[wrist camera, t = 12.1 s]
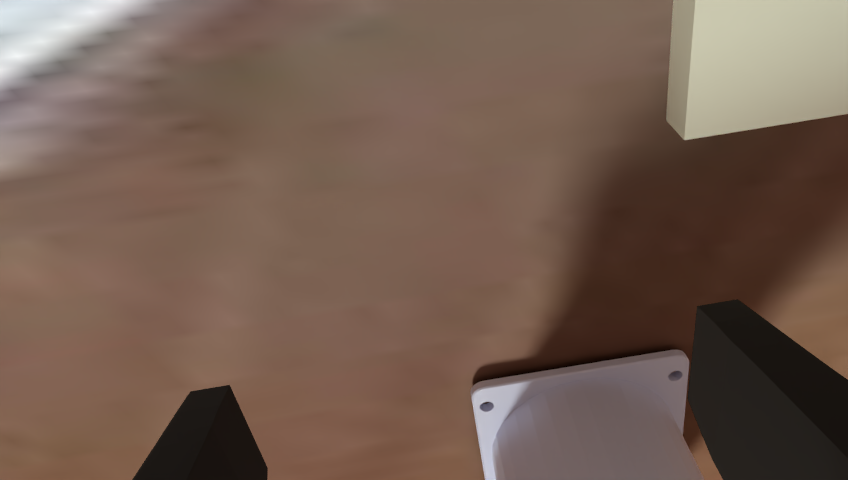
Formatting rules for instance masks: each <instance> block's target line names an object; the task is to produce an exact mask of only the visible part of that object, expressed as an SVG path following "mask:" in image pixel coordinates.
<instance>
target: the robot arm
mask: <svg viewBox="0 0 848 480" xmlns="http://www.w3.org/2000/svg"><path fill="white" fill-rule="evenodd" d="M674 371H675V372H674ZM672 372H674V373H672ZM688 372H689V359H688V358H687V356H686V354H685V353H684V352H683V351H681V350H668V351H662V352H656V353H650V354H643V355H637V356H631V357H625V358H619V359H613V360H607V361H601V362H595V363H588V364H582V365H576V366H570V367H564V368H558V369H552V370H546V371H540V372H534V373H527V374H521V375H515V376H509V377H503V378H497V379H491V380H485V381H480V382H478V383H476V384H475V385H473V387H472V388H471V397H472V403H473V409H474V415H475V422H476V428H477V434H478V440H479V446H480V452H481V458H482V464H483V470H484V476H485V480H704V478H703V476H702V474H701V472H700V470H699V468H698V466H697V464H696V462H695V460H694V458H693V456H692V454H691V452H690V450H689V448H688V446H687V444H686V442H685V439H684V437H683V428H684V417H685V406H686V394H687V383H688ZM688 401H689V403H690V406H691V408H692V411H693V413H694V416H695V418H696V421H697V423H698V426H699V429H700V431H701V434H702V436H703V438H704V441H705V443H706V445H707V448H708V450H709V453H710V455H711V457H712V460H713V462H714V463H715V465H716V467H717V469H718V471H719V473H720V475H721V476H722V478H723V480H848V380H847V379H846V378H844V377H843V376H842V375H840V374H839V373H837V372H836V371H835V370H833V369H832V368H830V367H829V366H828V365H826V364H825V363H823V362H822V361H821V360H819V359H818V358H817V357H815V356H814V355H812V354H811V353H810V352H808V351H807V350H806V349H804V348H803V347H801V346H800V345H799V344H797V343H796V342H795V341H793V340H792V339H791V338H789V337H788V336H787V335H785V334H784V333H782V332H781V331H780V330H778V329H777V328H776V327H774V326H773V325H772V324H770V323H769V322H768V321H766V320H765V319H764V318H762V317H761V316H760V315H758V314H757V313H756V312H754V311H753V310H751V309H750V308H749V307H747V306H746V305H745V304H743V303H742V302H740V301H739V300H738V299H737V300H731V301H725V302H719V303H713V304H708V305H702V306H697V313H696V323H695V333H694V342H693V352H692V362H691V371H690V381H689V391H688ZM484 402H489V403H486V404H482V403H484ZM132 480H267V466H266V464H265V462H264V459H263V457H262V455H261V453H260V451H259V448H258V446H257V444H256V442H255V440H254V438H253V435H252V433H251V431H250V429H249V427H248V424H247V422H246V420H245V418H244V416H243V413H242V411H241V409H240V407H239V405H238V403H237V400H236V398H235V396H234V394H233V392H232V389H231V387H230V385H227V386H221V387H215V388H209V389H203V390H197V391H191V392H190V393H189V395H188V396H187V397H186V399H185V400H184V402H183V403H182V405H181V406H180V408H179V409H178V411H177V412H176V414H175V415H174V417H173V418H172V420H171V422H170V423H169V425H168V426H167V428H166V429H165V431H164V432H163V434H162V435H161V437H160V438H159V440H158V442H157V443H156V445H155V446H154V448H153V449H152V451H151V452H150V454H149V455H148V457H147V458H146V460H145V461H144V463H143V464H142V466H141V467H140V469H139V471H138V472H137V474H136V475H135V477H134V478H133V479H132Z"/></svg>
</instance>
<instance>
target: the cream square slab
mask: <svg viewBox="0 0 848 480" xmlns="http://www.w3.org/2000/svg"><path fill="white" fill-rule="evenodd" d="M845 114H848V0H673V14H672V30H671V47H670V63H669V79H668V96H667V112H666V121H667V122H668V123H669V124H670V125H671V126H672V127H673V128H674V130H675V131H676V132H677V133H678V134H679V135H680V136H681V137H682V138H683V139H684V140H689V139H696V138H702V137H708V136H714V135H720V134H727V133H733V132H739V131H745V130H751V129H758V128H764V127H770V126H776V125H782V124H789V123H795V122H801V121H807V120H813V119H820V118H826V117H832V116H838V115H845Z"/></svg>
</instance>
